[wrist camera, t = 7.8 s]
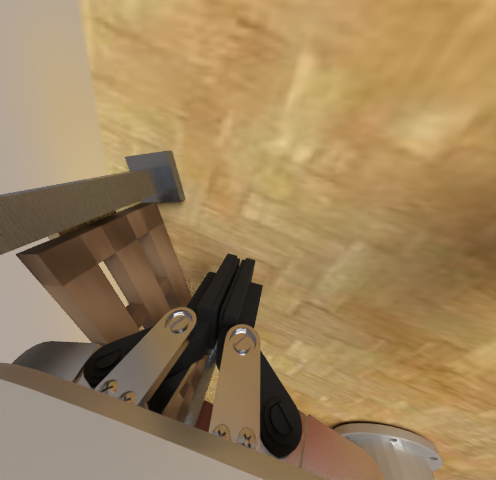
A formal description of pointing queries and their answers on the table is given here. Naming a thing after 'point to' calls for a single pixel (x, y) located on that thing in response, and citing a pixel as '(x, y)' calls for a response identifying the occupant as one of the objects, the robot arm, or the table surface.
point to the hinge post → (201, 390)
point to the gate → (117, 280)
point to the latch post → (86, 200)
